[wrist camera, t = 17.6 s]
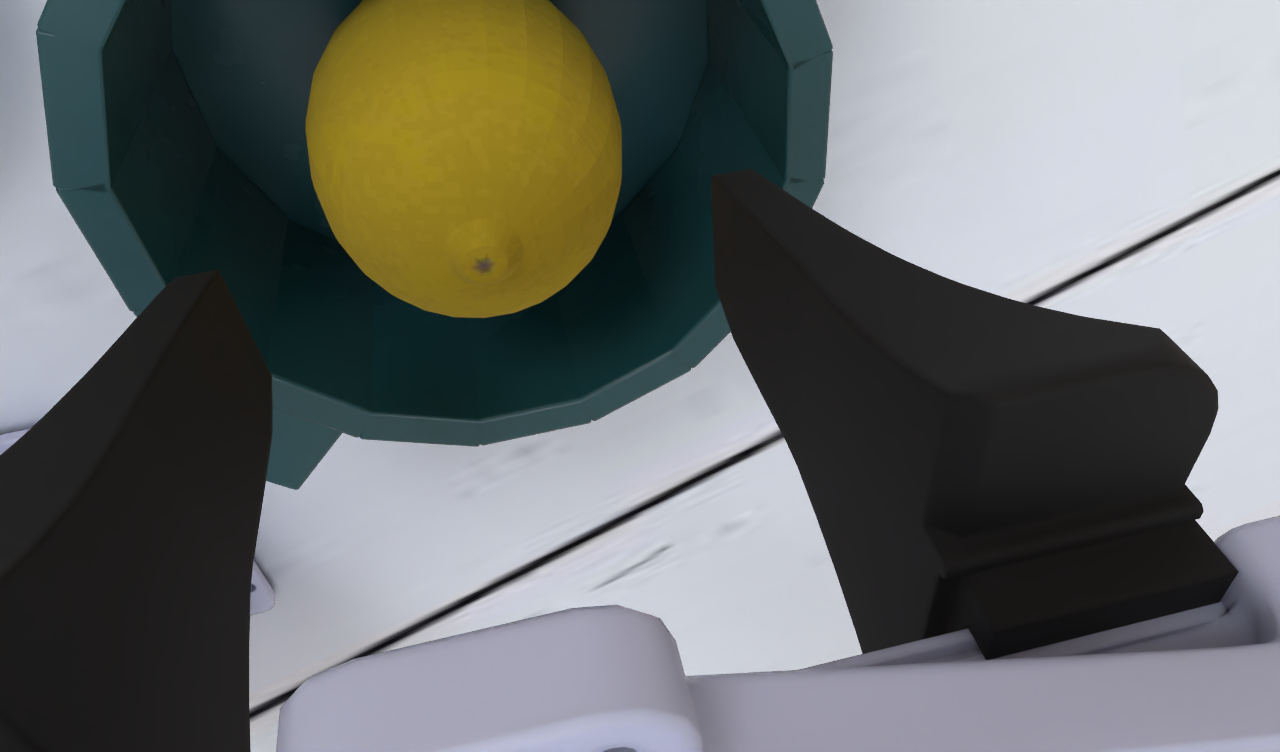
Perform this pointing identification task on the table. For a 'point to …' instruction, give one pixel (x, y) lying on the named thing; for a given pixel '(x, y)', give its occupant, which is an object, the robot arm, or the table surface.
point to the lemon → (464, 150)
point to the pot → (329, 278)
